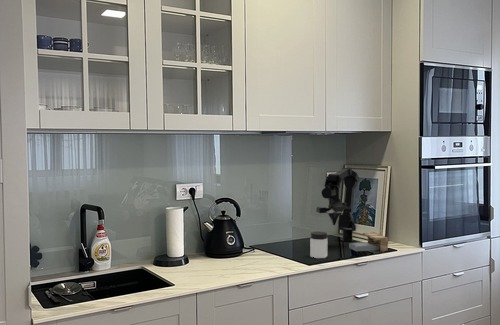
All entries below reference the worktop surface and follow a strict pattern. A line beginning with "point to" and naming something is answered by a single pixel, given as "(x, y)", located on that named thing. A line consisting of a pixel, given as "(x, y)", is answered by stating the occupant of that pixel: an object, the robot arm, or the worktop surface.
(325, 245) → the jar
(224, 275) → the worktop surface
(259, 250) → the worktop surface
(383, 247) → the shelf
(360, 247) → the slate board
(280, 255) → the worktop surface
